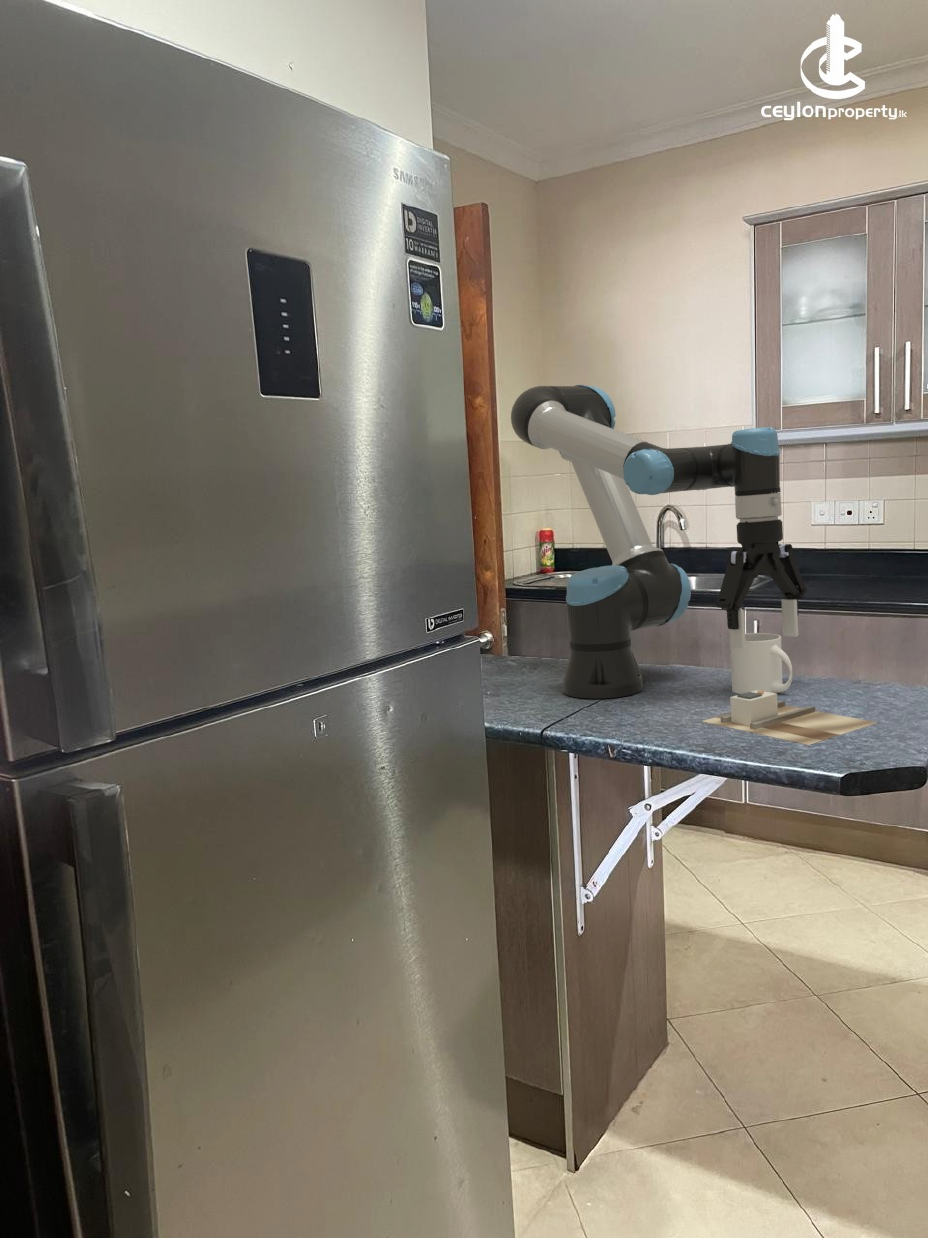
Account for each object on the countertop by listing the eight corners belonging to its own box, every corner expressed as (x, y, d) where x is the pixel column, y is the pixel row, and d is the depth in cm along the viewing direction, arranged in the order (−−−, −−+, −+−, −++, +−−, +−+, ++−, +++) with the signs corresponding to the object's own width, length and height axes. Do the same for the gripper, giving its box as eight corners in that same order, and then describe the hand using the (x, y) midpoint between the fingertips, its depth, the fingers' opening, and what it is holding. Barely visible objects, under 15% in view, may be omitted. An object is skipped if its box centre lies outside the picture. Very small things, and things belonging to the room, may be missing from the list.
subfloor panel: (701, 728, 148) (701, 716, 148) (769, 709, 156) (769, 697, 156) (808, 753, 131) (808, 739, 131) (878, 730, 139) (877, 717, 139)
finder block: (731, 722, 146) (730, 695, 145) (757, 714, 149) (756, 688, 148) (751, 726, 142) (750, 699, 142) (777, 718, 145) (777, 691, 145)
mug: (775, 707, 157) (772, 645, 156) (721, 697, 167) (719, 638, 166) (809, 698, 161) (807, 637, 160) (755, 688, 172) (753, 631, 170)
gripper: (725, 525, 150) (732, 655, 153) (824, 512, 163) (829, 632, 166) (690, 526, 157) (698, 651, 159) (788, 514, 170) (794, 629, 172)
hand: (765, 641), depth 163 cm, fingers open, 13 cm apart
